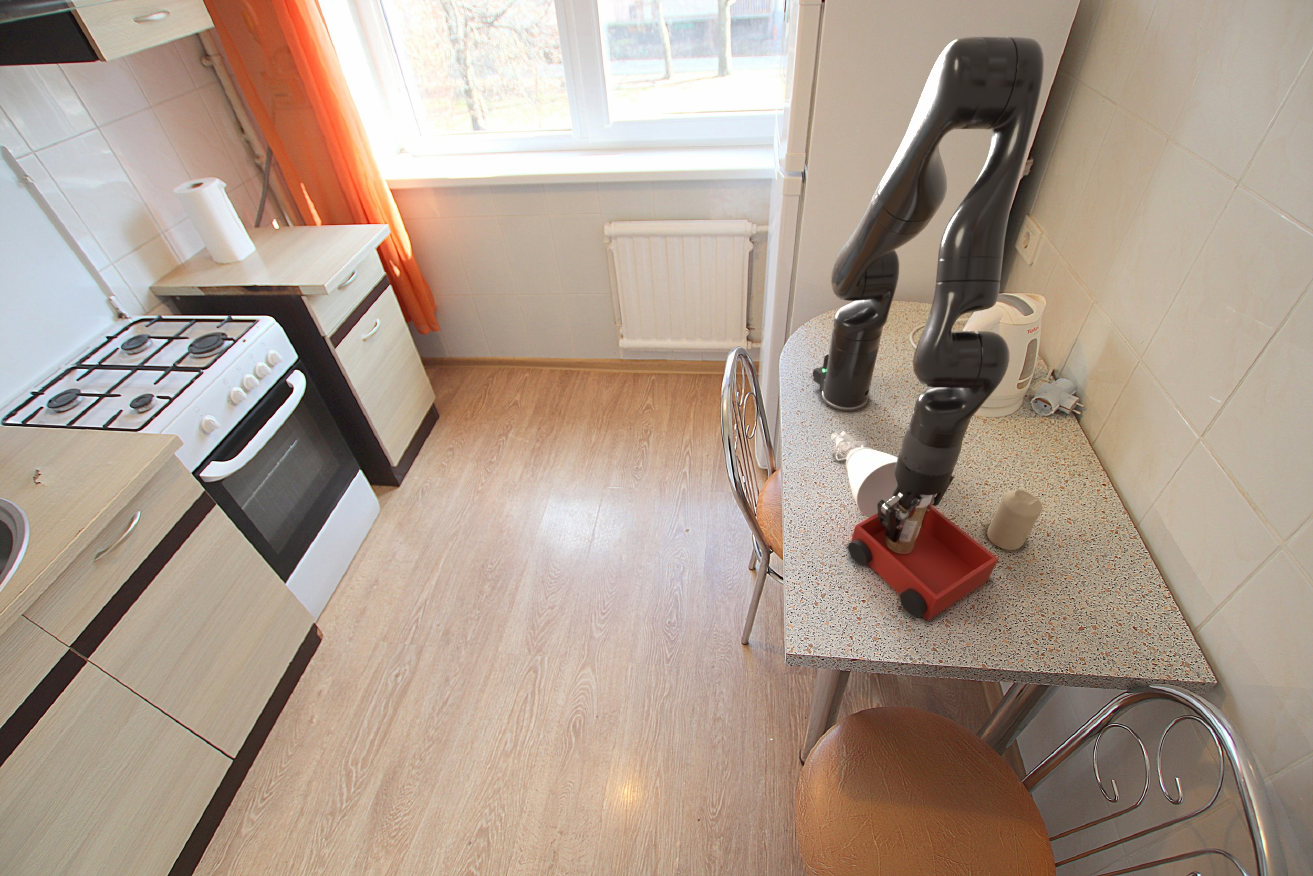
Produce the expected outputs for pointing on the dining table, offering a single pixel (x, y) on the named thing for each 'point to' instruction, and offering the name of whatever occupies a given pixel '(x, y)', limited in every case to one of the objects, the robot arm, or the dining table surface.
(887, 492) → the rocket engine
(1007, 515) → the candle
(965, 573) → the cart
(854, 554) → the cart wheels
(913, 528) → the sprinkles bottle
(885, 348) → the dining table surface
